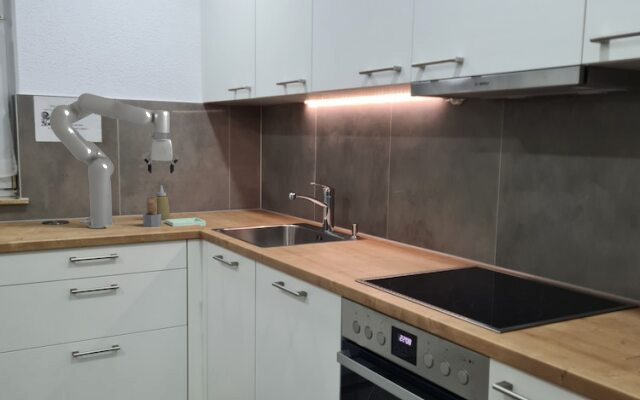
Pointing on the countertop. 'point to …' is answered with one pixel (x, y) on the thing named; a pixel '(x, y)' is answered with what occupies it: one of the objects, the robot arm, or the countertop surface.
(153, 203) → the walnut pin
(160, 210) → the squeeze bottle
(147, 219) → the grey block
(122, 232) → the countertop surface
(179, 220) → the pale green tray
